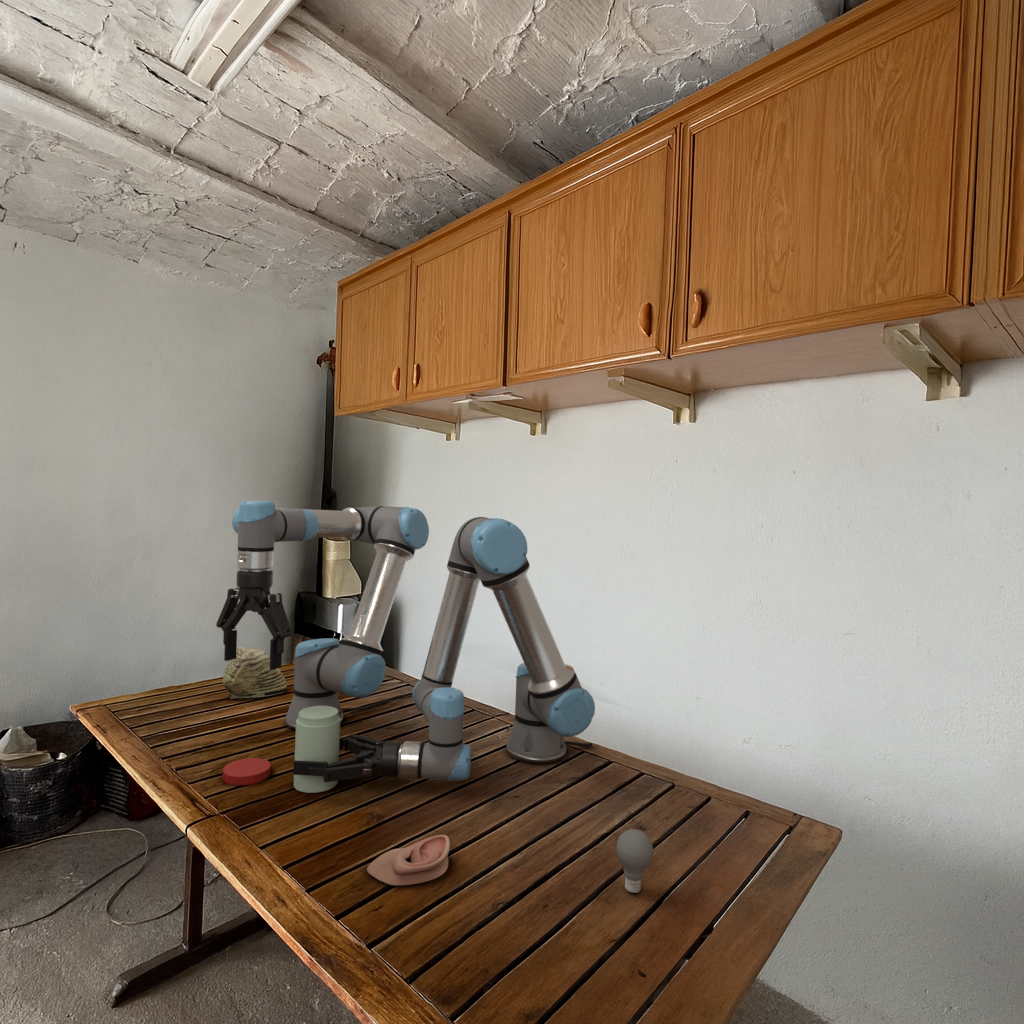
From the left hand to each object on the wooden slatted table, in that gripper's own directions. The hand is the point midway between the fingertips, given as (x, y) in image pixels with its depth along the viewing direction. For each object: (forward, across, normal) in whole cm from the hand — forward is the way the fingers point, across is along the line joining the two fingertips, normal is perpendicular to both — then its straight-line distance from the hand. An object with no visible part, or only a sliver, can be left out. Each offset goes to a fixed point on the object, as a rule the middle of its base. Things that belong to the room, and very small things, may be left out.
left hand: (252, 663), depth 142 cm
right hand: (+19, +13, +3) cm, 23 cm away
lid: (+24, 0, -1) cm, 24 cm away
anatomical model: (+25, +51, -14) cm, 59 cm away
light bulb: (+25, +88, -2) cm, 91 cm away
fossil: (+25, -42, +42) cm, 65 cm away
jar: (+25, +16, +4) cm, 30 cm away
